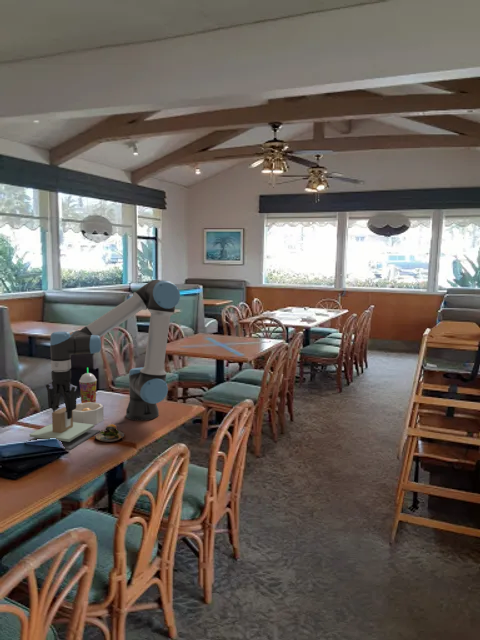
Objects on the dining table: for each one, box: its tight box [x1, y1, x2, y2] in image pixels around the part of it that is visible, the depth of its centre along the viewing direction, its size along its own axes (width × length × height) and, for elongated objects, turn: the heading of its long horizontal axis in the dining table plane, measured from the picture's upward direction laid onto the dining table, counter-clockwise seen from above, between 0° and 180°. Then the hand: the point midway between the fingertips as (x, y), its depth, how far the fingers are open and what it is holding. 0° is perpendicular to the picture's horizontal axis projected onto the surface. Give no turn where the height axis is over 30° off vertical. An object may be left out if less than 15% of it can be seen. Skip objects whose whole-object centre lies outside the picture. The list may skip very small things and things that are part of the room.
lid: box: [29, 406, 96, 442], centre depth 198 cm, size 18×18×9 cm
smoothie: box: [78, 367, 98, 403], centre depth 240 cm, size 8×8×20 cm
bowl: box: [73, 402, 105, 425], centre depth 220 cm, size 14×14×6 cm
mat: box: [27, 428, 101, 451], centre depth 198 cm, size 21×21×1 cm
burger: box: [94, 423, 126, 443], centre depth 198 cm, size 12×12×8 cm
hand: (62, 425), depth 198 cm, fingers closed on lid, 4 cm apart
